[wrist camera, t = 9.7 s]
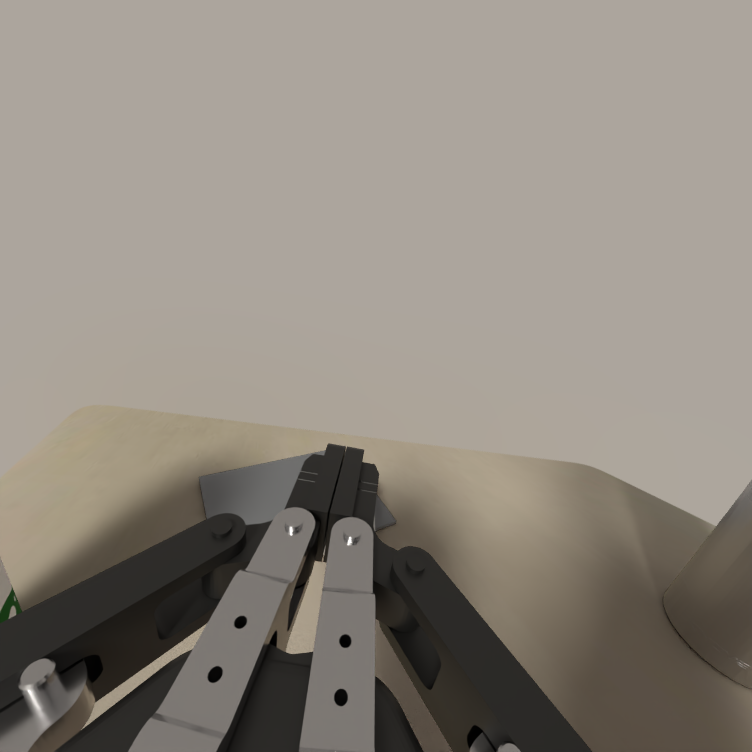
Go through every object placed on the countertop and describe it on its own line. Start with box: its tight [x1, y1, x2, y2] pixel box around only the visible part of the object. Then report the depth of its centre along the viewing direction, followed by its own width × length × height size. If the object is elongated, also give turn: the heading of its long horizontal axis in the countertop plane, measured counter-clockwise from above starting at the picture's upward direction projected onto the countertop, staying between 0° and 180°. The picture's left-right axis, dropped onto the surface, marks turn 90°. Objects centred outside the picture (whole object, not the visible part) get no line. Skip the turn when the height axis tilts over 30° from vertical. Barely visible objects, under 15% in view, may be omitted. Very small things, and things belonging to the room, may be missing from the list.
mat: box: [199, 450, 396, 531], centre depth 40 cm, size 18×14×1 cm
